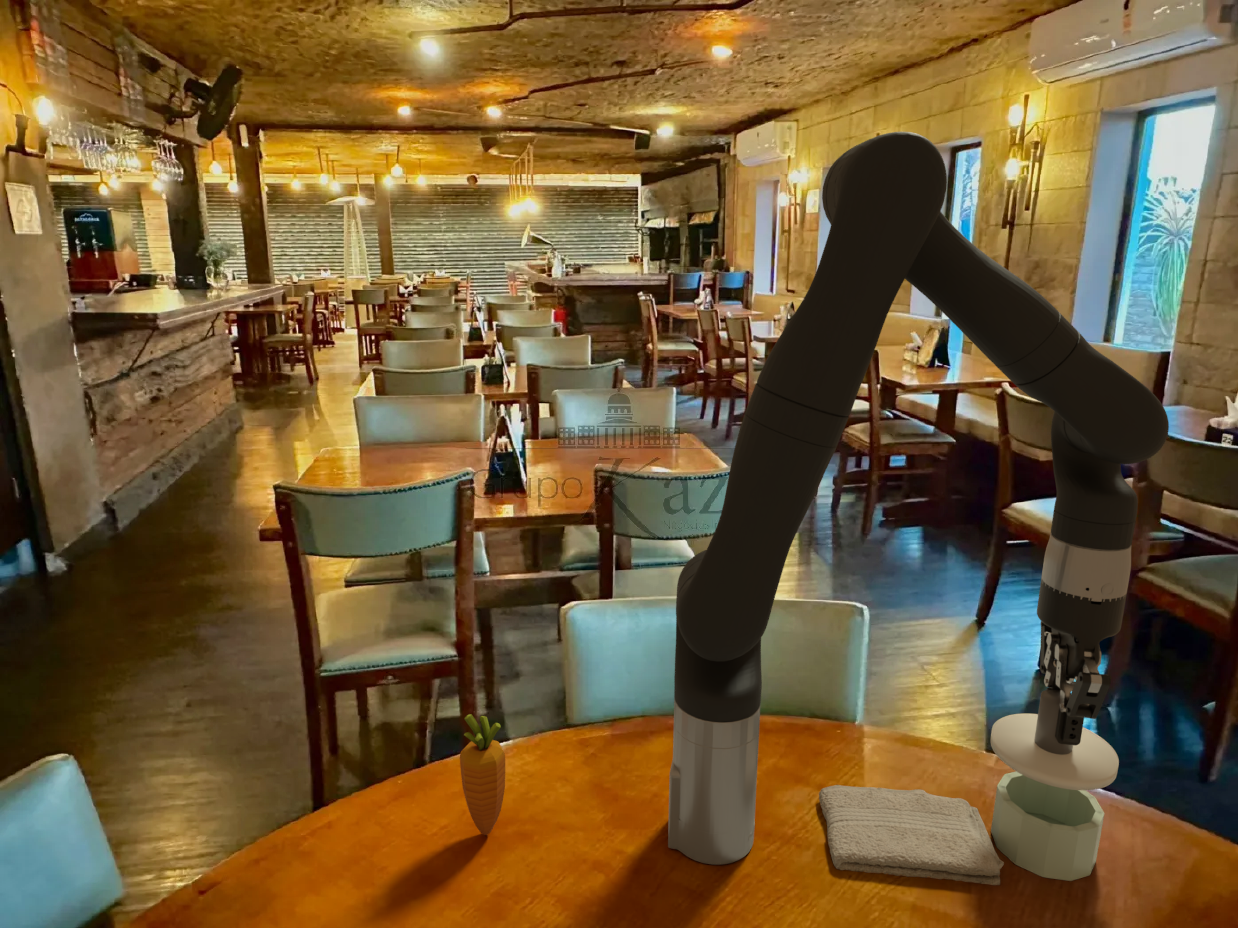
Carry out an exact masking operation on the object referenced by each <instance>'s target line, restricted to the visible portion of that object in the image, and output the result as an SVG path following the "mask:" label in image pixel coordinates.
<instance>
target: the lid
mask: <svg viewBox="0 0 1238 928" xmlns="http://www.w3.org/2000/svg"><path fill="white" fill-rule="evenodd" d="M1070 696H1071V694H1069V698H1070ZM1039 699H1040V700H1039V705H1038V711H1037V712H1038V713H1015V714H1009V715H1006V716H1003V717H1001V718H999V719H997V720H996V721H995V722H994V723H993V725H992V726H991V727H992V728H991V732H990V733H991V734H990V746H991V749H992V751H993V752H994V753H995V755H996V757H998V759H999V760H1000V761H1002V762H1003V764H1005V765H1006V766H1008V767H1009V768H1010V769H1012V770H1014V772H1015V771H1017V772H1018V773H1020V774H1022V775H1024V776H1026V777H1028V778H1030V779H1033V780H1035V781H1038V782H1041V783H1043V784H1047V785H1050V786H1054V787H1058V788H1063V789H1070V790H1086V791H1095V790H1101V789H1103V788H1105V787H1108V786H1109V785H1111V784H1112V783H1114V782H1115V780H1116V779H1117V776H1118V770H1119V765H1120V764H1119V763H1120V760H1119V756H1118V754H1117V752H1116V750H1115V749H1114V748H1113V746H1112V745H1110V743H1109V742H1107V741H1106V740H1105V739H1104V738H1103V737H1101V736H1099V735H1098V734H1097V733H1095V732H1093V731H1092V730H1090V729H1087V728H1086V727H1084V726H1083V728H1082V734H1081V741H1080V743H1079V744H1078V745H1066V744H1060V743H1058V741H1057V740H1056V738H1055V732H1056V726H1057V719H1058V713H1059V708H1060V707H1059V704H1060V690H1046V689H1045V690H1042V691H1041V693H1040V698H1039Z"/></svg>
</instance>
